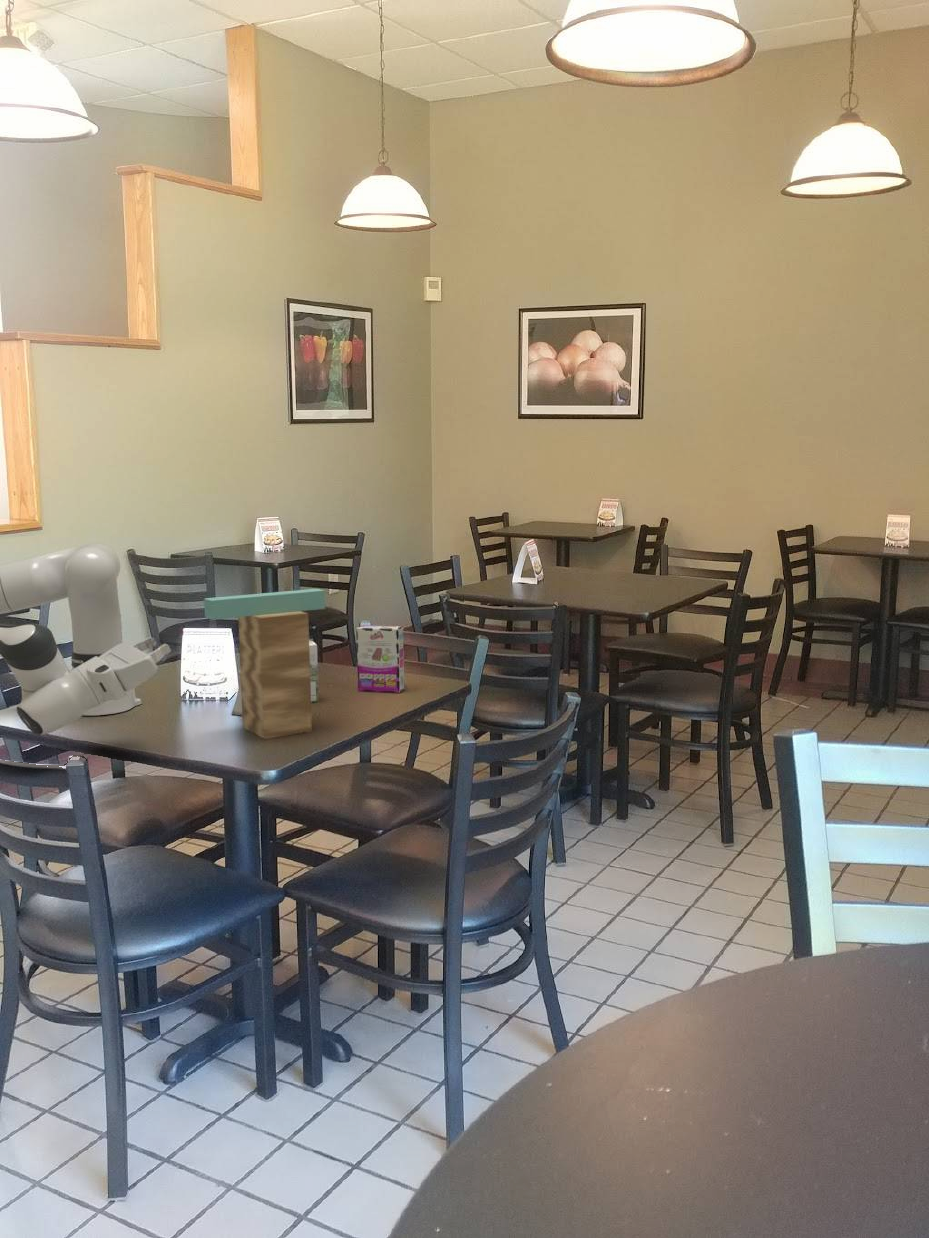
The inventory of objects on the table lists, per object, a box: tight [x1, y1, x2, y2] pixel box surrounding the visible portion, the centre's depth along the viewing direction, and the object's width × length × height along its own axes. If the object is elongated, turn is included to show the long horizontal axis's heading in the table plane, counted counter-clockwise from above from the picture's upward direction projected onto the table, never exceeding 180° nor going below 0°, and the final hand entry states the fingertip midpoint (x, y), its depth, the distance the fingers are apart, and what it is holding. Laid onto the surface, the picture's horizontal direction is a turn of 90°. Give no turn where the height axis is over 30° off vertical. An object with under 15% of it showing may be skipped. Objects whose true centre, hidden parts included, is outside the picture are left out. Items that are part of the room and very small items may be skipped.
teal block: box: [203, 588, 326, 621], centre depth 234 cm, size 4×26×4 cm, turn 124°
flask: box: [231, 669, 242, 716], centre depth 254 cm, size 7×7×10 cm
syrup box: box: [309, 640, 319, 703], centre depth 265 cm, size 6×6×14 cm
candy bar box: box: [355, 625, 406, 694], centre depth 275 cm, size 11×5×16 cm, turn 76°
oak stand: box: [237, 611, 313, 740], centre depth 238 cm, size 12×11×26 cm
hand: (161, 643), depth 223 cm, fingers open, 8 cm apart
